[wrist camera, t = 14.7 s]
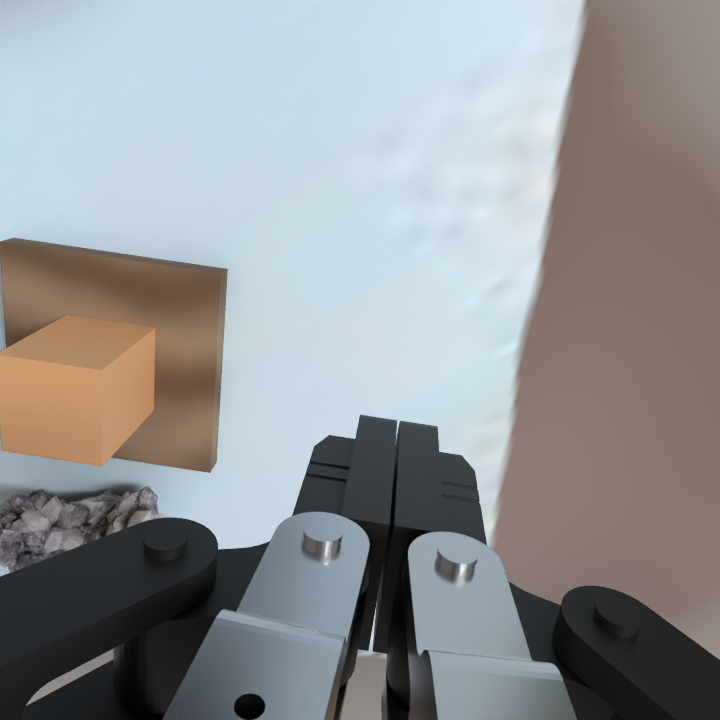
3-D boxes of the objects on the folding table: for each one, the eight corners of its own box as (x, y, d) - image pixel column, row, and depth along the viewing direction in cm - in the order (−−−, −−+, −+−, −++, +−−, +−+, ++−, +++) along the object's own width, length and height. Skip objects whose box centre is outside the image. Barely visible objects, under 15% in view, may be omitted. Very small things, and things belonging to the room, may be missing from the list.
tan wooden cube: (66, 315, 42) (-5, 354, 35) (155, 328, 42) (101, 370, 35) (69, 397, 44) (1, 450, 37) (153, 410, 44) (102, 466, 37)
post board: (13, 237, 42) (-68, 261, 35) (227, 269, 42) (188, 298, 35) (24, 432, 47) (-45, 486, 40) (216, 462, 46) (180, 522, 39)
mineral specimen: (179, 490, 43) (45, 602, 37) (197, 568, 49) (83, 677, 43) (64, 410, 48) (-71, 496, 42) (93, 490, 54) (-22, 576, 48)
